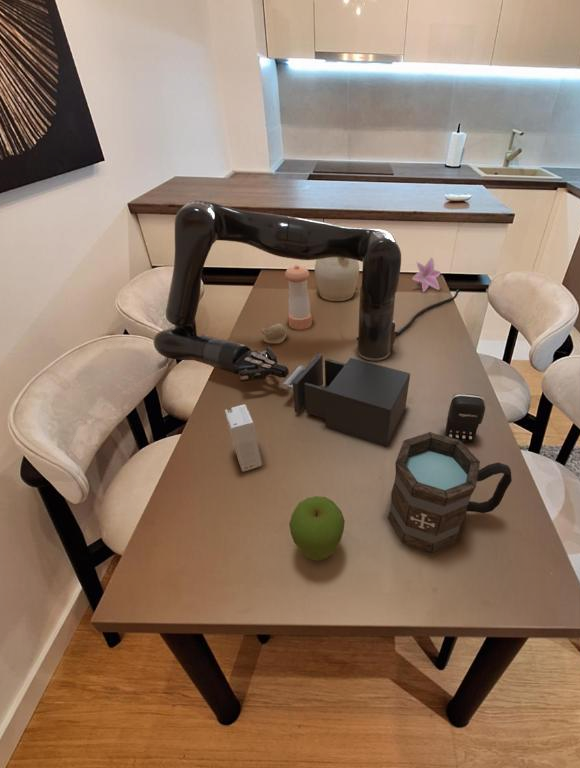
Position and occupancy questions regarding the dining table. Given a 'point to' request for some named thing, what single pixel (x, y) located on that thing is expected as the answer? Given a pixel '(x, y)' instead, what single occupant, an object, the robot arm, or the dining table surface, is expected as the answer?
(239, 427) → the cosmetic box
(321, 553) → the apple
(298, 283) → the salt shaker
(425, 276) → the lily
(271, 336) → the decorative ornament
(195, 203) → the robot arm
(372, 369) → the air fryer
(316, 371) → the drawer
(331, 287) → the jug
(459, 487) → the mug
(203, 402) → the dining table surface
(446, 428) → the battery charger
